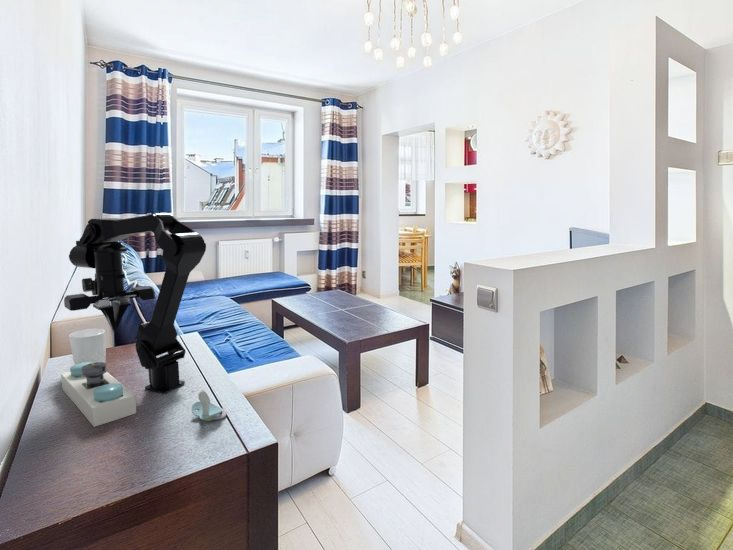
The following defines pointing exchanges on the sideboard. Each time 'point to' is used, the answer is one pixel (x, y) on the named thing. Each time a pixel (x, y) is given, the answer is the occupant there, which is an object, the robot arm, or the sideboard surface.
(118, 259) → the robot arm
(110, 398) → the near knob
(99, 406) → the knob housing
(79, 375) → the far knob
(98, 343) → the white cup
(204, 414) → the pacifier
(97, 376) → the pot dial
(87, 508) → the sideboard surface
